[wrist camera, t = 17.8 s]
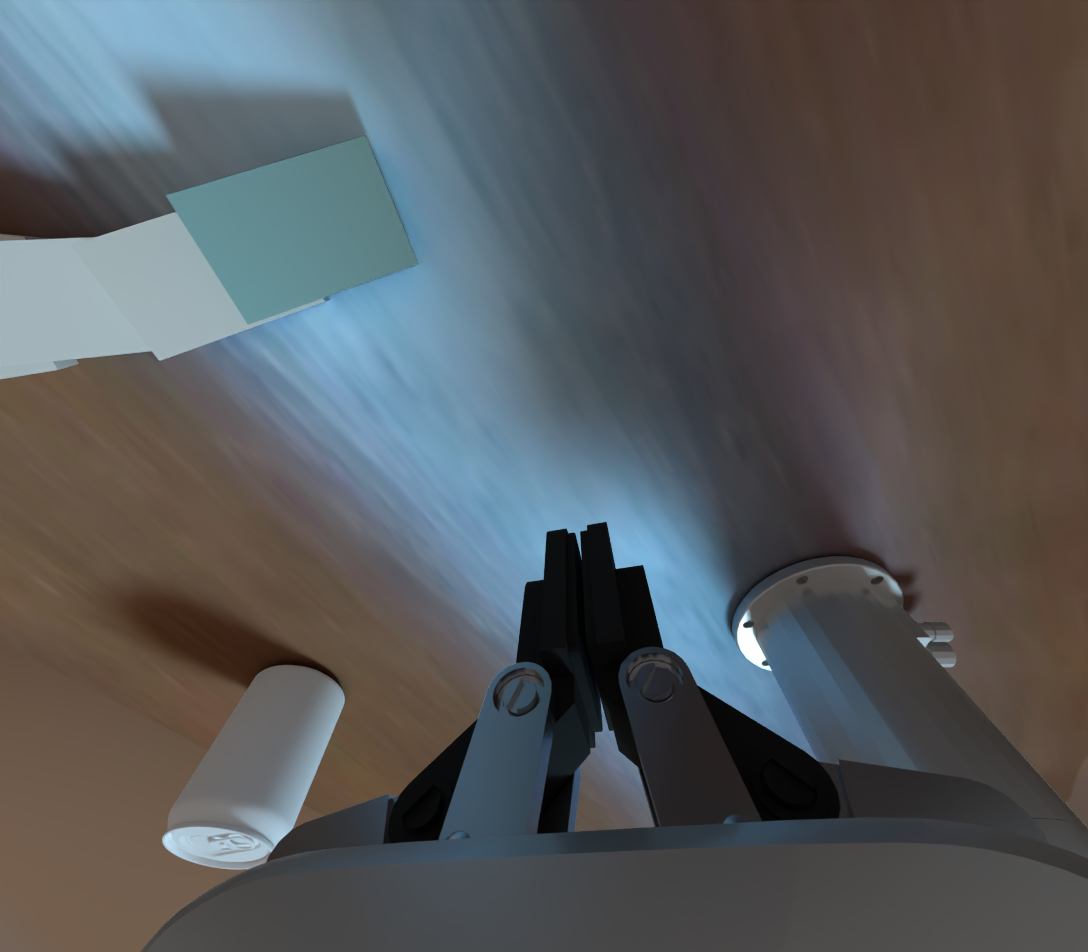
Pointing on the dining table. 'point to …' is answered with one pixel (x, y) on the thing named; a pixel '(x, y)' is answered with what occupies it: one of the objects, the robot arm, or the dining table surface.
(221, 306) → the domino
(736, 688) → the dining table surface
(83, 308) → the domino
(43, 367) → the domino
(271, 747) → the beverage can
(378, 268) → the domino
